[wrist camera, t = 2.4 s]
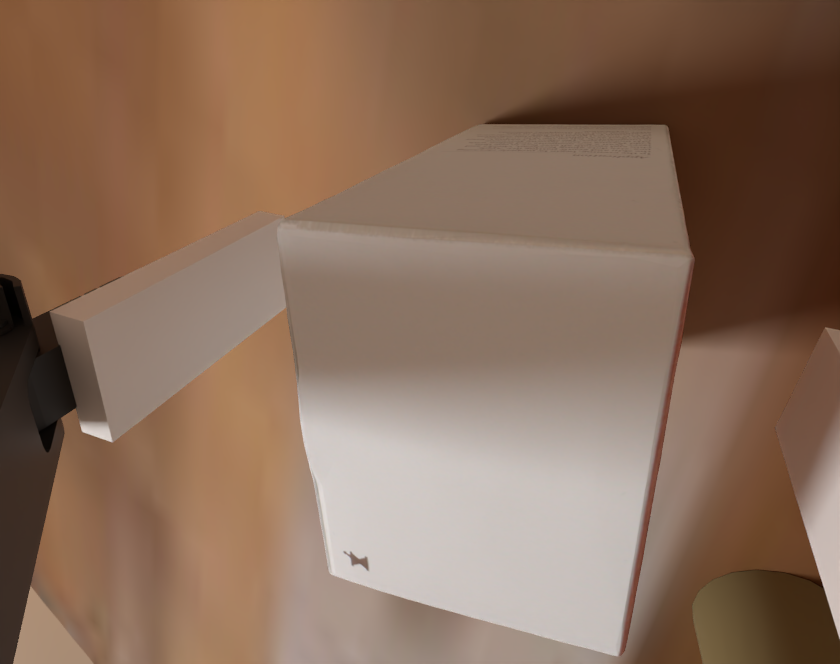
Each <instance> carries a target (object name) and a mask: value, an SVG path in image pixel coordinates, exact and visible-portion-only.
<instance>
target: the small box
mask: <svg viewBox="0 0 840 664" xmlns="http://www.w3.org/2000/svg"><path fill="white" fill-rule="evenodd" d="M277 243H278V249H279V257H280V266H281V274H282V280H283V286H284V292H285V300H286V308H287V316H288V323H289V329H290V336H291V342H292V348H293V355H294V363H295V371H296V378H297V388H298V400H299V412H300V422H301V428H302V434H303V441H304V446H305V450H306V454H307V457H308V462H309V467H310V470H311V474H312V477H313V482H314V486H315V493H316V499H317V505H318V510H319V516H320V523H321V528H322V533H323V538H324V544H325V551H326V557H327V564H328V569H329V573H330V574H332V575H333V576H336V577H339V578H342V579H345V580H348V581H351V582H354V583H357V584H360V585H363V586H366V587H369V588H372V589H376V590H379V591H382V592H385V593H389V594H392V595H395V596H399V597H402V598H405V599H409V600H412V601H416V602H419V603H423V604H426V605H430V606H433V607H437V608H441V609H444V610H448V611H451V612H455V613H458V614H462V615H465V616H469V617H472V618H476V619H480V620H484V621H487V622H491V623H494V624H497V625H501V626H506V627H509V628H513V629H516V630H520V631H524V632H527V633H531V634H534V635H538V636H541V637H545V638H549V639H553V640H557V641H560V642H564V643H567V644H571V645H575V646H579V647H584V648H588V649H592V650H595V651H599V652H602V653H605V654H609V655H613V656H621V655H622V654H623V652H624V651H625V647H626V643H627V639H628V634H629V628H630V623H631V618H632V613H633V607H634V602H635V596H636V591H637V586H638V581H639V575H640V570H641V565H642V560H643V554H644V548H645V543H646V537H647V531H648V525H649V520H650V514H651V508H652V503H653V497H654V492H655V486H656V480H657V475H658V470H659V465H660V460H661V454H662V448H663V442H664V436H665V430H666V424H667V418H668V412H669V406H670V400H671V394H672V388H673V382H674V376H675V371H676V366H677V361H678V357H679V352H680V347H681V342H682V336H683V330H684V323H685V317H686V311H687V305H688V298H689V292H690V286H691V280H692V274H693V269H694V261H695V258H694V255H693V253H692V251H691V249H690V242H689V236H688V233H687V228H686V222H685V216H684V210H683V205H682V200H681V196H680V190H679V184H678V180H677V174H676V168H675V163H674V158H673V151H672V146H671V140H670V134H669V128H668V126H666V125H569V124H480V125H477V126H474V127H472V128H470V129H468V130H466V131H464V132H462V133H460V134H457V135H455V136H453V137H451V138H449V139H447V140H445V141H443V142H441V143H439V144H437V145H435V146H433V147H431V148H429V149H427V150H425V151H423V152H422V153H420V154H418V155H416V156H414V157H412V158H410V159H408V160H406V161H403V162H401V163H399V164H397V165H395V166H393V167H391V168H389V169H387V170H385V171H383V172H381V173H379V174H377V175H375V176H373V177H371V178H369V179H367V180H365V181H363V182H361V183H359V184H357V185H355V186H353V187H351V188H349V189H347V190H345V191H343V192H341V193H339V194H337V195H335V196H333V197H330V198H328V199H326V200H323V201H321V202H320V203H318V204H316V205H314V206H312V207H309V208H307V209H305V210H303V211H301V212H298V213H296V214H294V215H291V216H289V217H287V218H284V219H282V220H281V221H280V223H279V225H278V228H277Z"/></svg>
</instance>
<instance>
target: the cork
mask: <svg viewBox="0 0 840 664" xmlns="http://www.w3.org/2000/svg"><path fill="white" fill-rule="evenodd" d="M692 609H693V622H694V626H695V631H696V635H697V640H698V644H699V649H700V653H701V657H702V662H703V664H840V639H839V635H838V632H837V629H836V626H835V622H834V619H833V616H832V613H831V609H830V606H829V603H828V600H827V596H826V593H825V590H824V589H823V588H822V587H820V586H818V585H816V584H815V583H813V582H811V581H809V580H806V579H803V578H799V577H796V576H793V575H790V574H787V573H783V572H773V571H763V570H751V571H742V572H733V573H730V574H727V575H724V576H722V577H719V578H716V579H714V580H712V581H711V582H709V583H708V584H707V585H706V586H705V587H703V588H702V589H701V590H700V591H699V592H698V594H697V596H696V598H695V600H694V602H693V604H692Z"/></svg>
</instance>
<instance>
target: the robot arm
mask: <svg viewBox="0 0 840 664" xmlns="http://www.w3.org/2000/svg"><path fill="white" fill-rule="evenodd" d="M282 219H284V216H282V215H277V214H272V213H267V212H263V211H258V212H256V213H254V214H252V215H250V216H248V217H246V218H244V219H242V220H240V221H238V222H235V223H233V224H231V225H229V226H227V227H225V228H223V229H221V230H219V231H217V232H215V233H213V234H210V235H208V236H206V237H204V238H202V239H200V240H198V241H196V242H194V243H192V244H190V245H188V246H185V247H183V248H181V249H179V250H177V251H175V252H173V253H171V254H169V255H167V256H165V257H163V258H160V259H158V260H156V261H154V262H152V263H150V264H148V265H146V266H144V267H142V268H140V269H138V270H135V271H133V272H131V273H129V274H127V275H125V276H123V277H119V278H117V279H115V280H113V281H111V282H108V283H106V284H104V285H102V286H100V288H98V289H94V290H92V291H90V292H88V293H85V294H84V295H83V296H79V297H77V298H75V299H73V300H71V301H69V302H67V303H65V304H62V305H60V306H58V307H56V308H54V309H52V310H50V311H48V312H46V313H44V314H42V315H39V316H37V317H35V318H33V319H32V317H31V314H30V310H29V307H28V304H27V300H26V297H25V293H24V290H23V286H22V283H21V280H19V279H18V278H16V277H14V276H10V275H5V274H0V664H13V661H14V656H15V652H16V648H17V643H18V639H19V634H20V630H21V625H22V621H23V616H24V612H25V607H26V603H27V598H28V594H29V590H30V585H31V581H32V576H33V572H34V567H35V563H36V558H37V554H38V549H39V545H40V540H41V536H42V531H43V527H44V522H45V518H46V514H47V509H48V505H49V500H50V496H51V491H52V487H53V482H54V478H55V473H56V469H57V464H58V460H59V455H60V451H61V446H62V442H63V438H64V427H63V423H62V420H61V417H63V416H64V415H66V414H67V413H69V412H70V411H72V410H73V409H75V408H76V411H77V414H78V418H79V422H80V425H81V429H82V432H84V433H87V434H90V435H93V436H96V437H99V438H101V439H104V440H107V441H110V442H114V441H115V440H116V439H118V438H119V437H120V436H122V435H123V434H124V433H125V432H127V431H128V430H129V429H131V428H132V427H133V426H134V425H136V424H137V423H138V422H140V421H141V420H142V419H143V418H145V417H146V416H147V415H149V414H150V413H151V412H152V411H154V410H155V409H156V408H157V407H159V406H160V405H161V404H163V403H164V402H165V401H166V400H168V399H169V398H170V397H172V396H173V395H174V394H175V393H177V392H178V391H179V390H181V389H182V388H183V387H184V386H186V385H187V384H188V383H190V382H191V381H192V380H193V379H195V378H196V377H197V376H199V375H200V374H201V373H202V372H204V371H205V370H206V369H208V368H209V367H210V366H211V365H213V364H214V363H215V362H217V361H218V360H219V359H220V358H222V357H223V356H224V355H226V354H227V353H228V352H229V351H231V350H232V349H233V348H235V347H236V346H237V345H238V344H240V343H241V342H242V341H243V340H245V339H246V338H247V337H249V336H250V335H251V334H252V333H254V332H255V331H256V330H258V329H259V328H260V327H261V326H263V325H264V324H265V323H267V322H268V321H269V320H270V319H272V318H273V317H274V316H276V315H277V314H278V313H279V312H281V311H282V310H283V309H285V308H286V300H285V292H284V286H283V280H282V274H281V266H280V257H279V249H278V243H277V228H278V225H279V223H280V221H281V220H282ZM775 430H776V433H777V437H778V440H779V443H780V446H781V450H782V453H783V456H784V459H785V463H786V466H787V469H788V473H789V476H790V479H791V482H792V486H793V489H794V492H795V495H796V499H797V502H798V505H799V508H800V512H801V515H802V518H803V521H804V525H805V528H806V531H807V534H808V538H809V541H810V544H811V547H812V551H813V554H814V557H815V561H816V564H817V567H818V570H819V574H820V577H821V580H822V583H823V587H824V590H825V593H826V596H827V600H828V603H829V606H830V609H831V613H832V616H833V619H834V622H835V626H836V629H837V632H838V635H839V639H840V330H836V329H831V328H826V327H825V328H824V330H823V332H822V334H821V336H820V338H819V340H818V342H817V344H816V346H815V348H814V350H813V352H812V354H811V356H810V358H809V360H808V362H807V364H806V366H805V368H804V370H803V372H802V374H801V376H800V378H799V380H798V382H797V384H796V386H795V389H794V391H793V393H792V395H791V397H790V399H789V401H788V403H787V405H786V407H785V409H784V411H783V413H782V415H781V417H780V419H779V421H778V423H777V425H776V427H775Z"/></svg>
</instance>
